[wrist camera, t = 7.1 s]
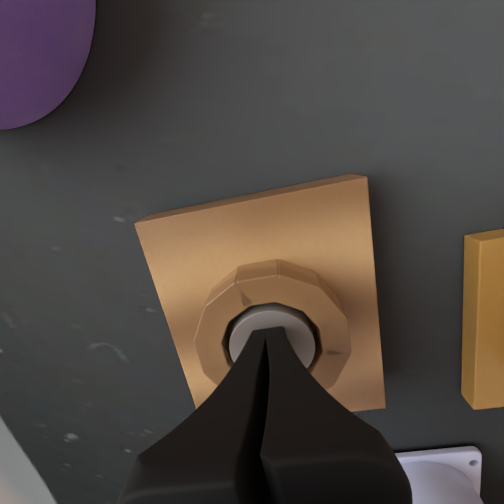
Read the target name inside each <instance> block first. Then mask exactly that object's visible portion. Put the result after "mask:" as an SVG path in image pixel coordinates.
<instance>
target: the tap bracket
mask: <svg viewBox="0 0 504 504" xmlns="http://www.w3.org/2000/svg"><path fill="white" fill-rule="evenodd" d="M461 394H462V396H463V397H464V398H465V399H466V401H467V402H468V403H469V404H470V405H471V407H472V408H473V409H474V410H478V409H487V408H496V407H504V229H498V230H492V231H486V232H480V233H474V234H469V235H465V236H464V278H463V328H462V378H461Z"/></svg>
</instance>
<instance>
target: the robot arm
mask: <svg viewBox="0 0 504 504" xmlns="http://www.w3.org/2000/svg"><path fill="white" fill-rule="evenodd" d="M481 464H482V454H481V452H480V451H479V450H478V448H477V447H474V446H464V447H454V448H443V449H433V450H423V451H412V452H402V453H394V452H393V450H392V449H391V447H390V446H389V444H388V443H387V442H386V440H385V439H384V437H383V436H382V435H381V433H380V432H379V431H378V430H376V429H375V428H373V427H372V426H370V425H369V424H367V423H366V422H364V421H363V420H361V419H360V418H358V417H357V416H356V415H354V414H353V413H352V412H350V411H349V410H348V409H347V408H345V407H344V406H343V405H342V404H341V403H340V402H338V401H337V400H336V399H335V398H334V397H333V396H332V395H330V394H329V393H328V392H327V391H326V390H325V389H324V388H323V387H322V386H321V385H320V384H319V383H318V381H317V380H316V379H315V378H314V377H313V376H312V375H311V373H310V372H309V371H308V370H307V368H306V367H305V366H304V364H303V363H302V362H301V360H300V359H299V357H298V356H297V354H296V353H295V351H294V349H293V348H292V346H291V344H290V342H289V340H288V338H287V336H286V333H285V328H284V327H282V326H278V327H272V328H265V329H258V330H253V331H252V332H251V334H250V336H249V338H248V340H247V342H246V343H245V345H244V347H243V349H242V351H241V352H240V354H239V356H238V357H237V359H236V361H235V362H234V364H233V365H232V367H231V368H230V370H229V371H228V373H227V374H226V376H225V377H224V378H223V380H222V381H221V382H220V384H219V385H218V386H217V388H216V389H215V390H214V391H213V392H212V393H211V395H210V396H209V397H208V398H207V399H206V400H205V401H204V402H203V403H202V404H201V405H200V406H199V407H198V408H197V409H196V410H195V411H194V412H193V413H192V414H191V415H190V416H189V417H188V418H187V419H185V420H184V421H183V422H182V423H181V424H180V425H178V426H177V427H176V428H175V429H174V430H172V431H171V432H170V433H169V434H167V435H166V436H165V437H163V438H162V439H161V440H159V441H158V442H156V443H155V444H154V445H152V446H151V447H150V448H148V449H147V450H145V451H144V452H142V453H141V454H139V455H138V457H137V459H136V461H135V463H134V465H133V467H132V469H131V471H130V473H129V475H128V477H127V480H126V482H125V484H124V487H123V489H122V491H121V494H120V496H119V498H118V501H117V503H116V504H484V503H483V501H482V500H481V498H480V483H481Z"/></svg>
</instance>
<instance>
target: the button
mask: <svg viewBox="0 0 504 504" xmlns="http://www.w3.org/2000/svg"><path fill="white" fill-rule="evenodd" d="M278 326H282V327H284V328H285V333H286V336H287V338H288V340H289V342H290V344H291V346H292V348H293V349H294V351H295V353H296V354H297V356H298V357H299V359H300V360H301V362H302V363H303V364H304V366H305V367H306V368H308V367H309V365H310V364H311V362H312V360H313V357H314V353H315V341H314V337H313V333H312V329H311V325H310V321H309V317H308V316H307V315H306V314H305V313H304V312H303V311H302V310H299V309H296V308H293V307H290V306H287V305H284V304H281V303H277V302H272V303H266V304H260V305H253V306H249V307H248V308H246V309H245V310H244V311H242V312H241V313H240V314H239V315H237V316H236V317H235V318H234V322H233V327H232V332H231V337H230V343H229V350H230V355H231V357H232V360H233V362H235V361H236V359H237V357H238V356H239V354H240V352H241V351H242V349H243V347H244V345H245V343H246V342H247V340H248V338H249V336H250V334H251V332H252V331H253V330H258V329H265V328H272V327H278Z"/></svg>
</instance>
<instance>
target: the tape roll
mask: <svg viewBox="0 0 504 504" xmlns="http://www.w3.org/2000/svg"><path fill="white" fill-rule="evenodd" d="M95 12H96V0H0V130H8V129H13V128H17V127H21V126H25V125H27V124H30V123H33V122H35V121H37V120H39V119H41V118H42V117H44V116H46V115H47V114H49V113H50V112H51V111H53V110H54V109H55V108H56V107H58V106H59V104H60V103H61V102H62V101H63V100H64V99H65V98H66V97H67V96H68V94H69V93H70V92H71V90H72V89H73V87H74V86H75V84H76V82H77V81H78V79H79V77H80V75H81V73H82V70H83V68H84V66H85V63H86V60H87V57H88V55H89V51H90V47H91V42H92V37H93V31H94V24H95Z"/></svg>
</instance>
